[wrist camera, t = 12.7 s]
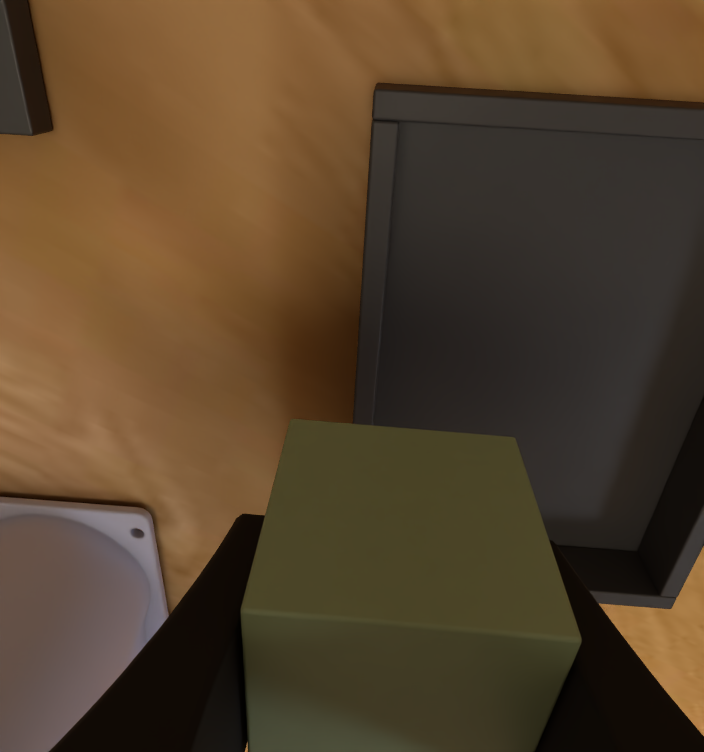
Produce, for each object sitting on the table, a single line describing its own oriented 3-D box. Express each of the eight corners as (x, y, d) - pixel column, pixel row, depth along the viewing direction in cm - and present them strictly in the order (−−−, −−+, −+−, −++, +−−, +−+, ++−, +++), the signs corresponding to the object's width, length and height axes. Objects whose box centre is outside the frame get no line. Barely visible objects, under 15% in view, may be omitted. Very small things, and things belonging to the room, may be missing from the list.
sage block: (476, 588, 12) (512, 807, 9) (288, 572, 12) (249, 783, 9) (516, 436, 10) (584, 641, 7) (289, 416, 10) (238, 610, 7)
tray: (643, 553, 21) (671, 609, 19) (347, 530, 22) (342, 583, 19) (836, 110, 14) (920, 122, 12) (375, 82, 14) (374, 88, 12)
